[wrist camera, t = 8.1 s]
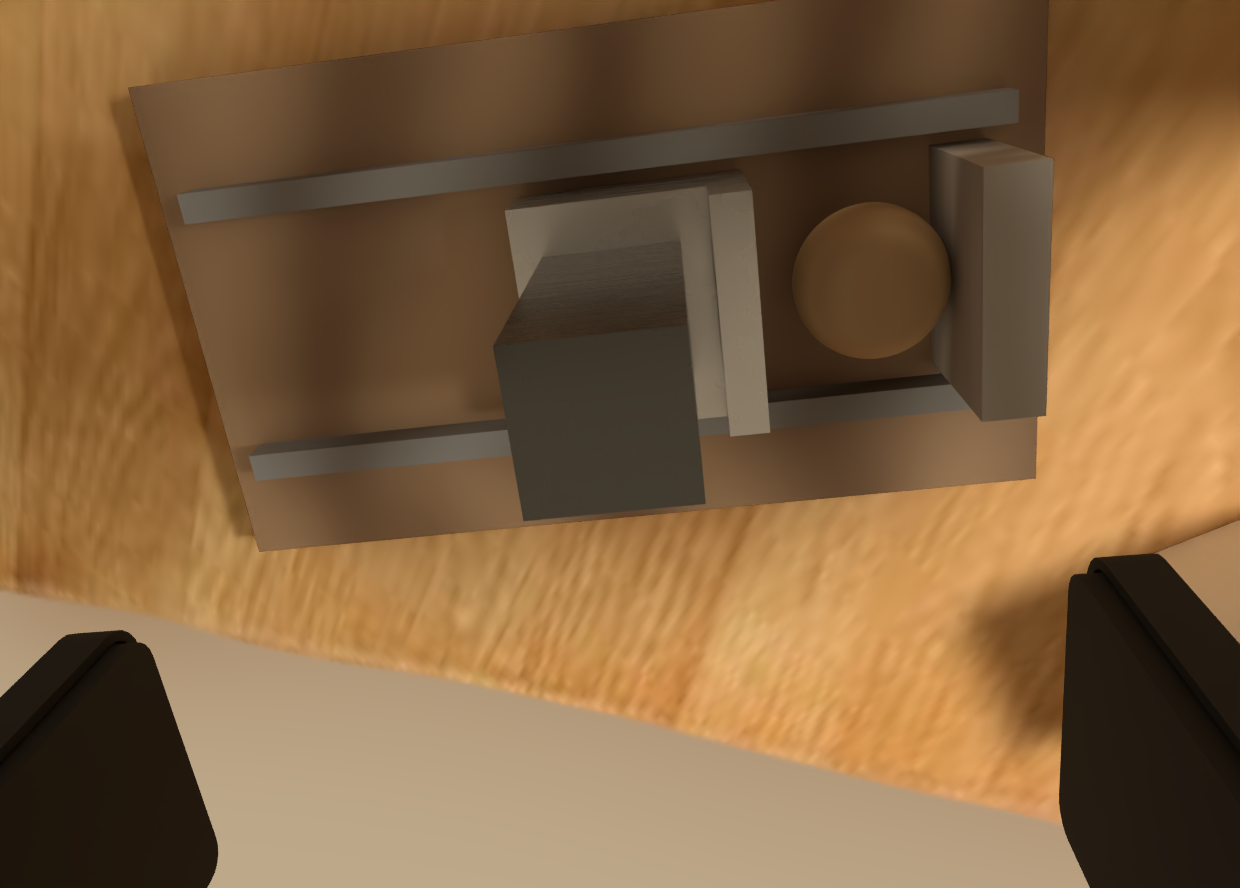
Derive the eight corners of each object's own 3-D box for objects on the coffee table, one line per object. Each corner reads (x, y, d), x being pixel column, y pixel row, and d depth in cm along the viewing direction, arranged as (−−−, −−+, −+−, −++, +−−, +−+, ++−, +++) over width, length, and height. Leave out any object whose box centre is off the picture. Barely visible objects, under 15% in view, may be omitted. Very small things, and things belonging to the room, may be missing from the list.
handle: (739, 169, 27) (782, 242, 17) (756, 382, 29) (803, 554, 20) (518, 196, 28) (439, 282, 18) (550, 404, 30) (495, 581, 20)
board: (1029, -33, 27) (1135, -53, 21) (1019, 459, 32) (1102, 557, 26) (154, 85, 29) (18, 97, 23) (275, 530, 34) (191, 637, 28)
